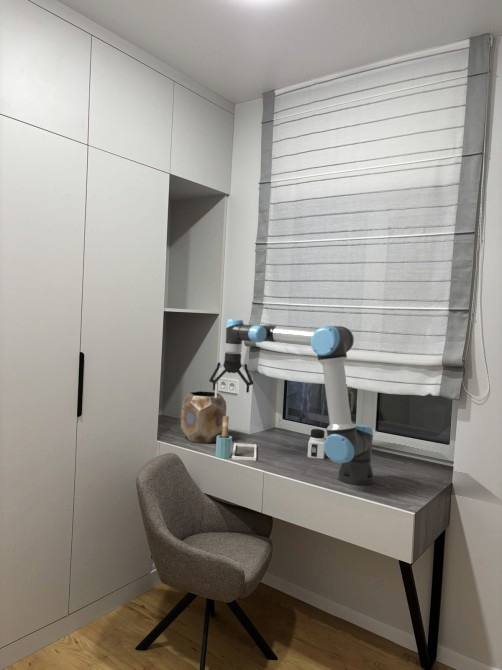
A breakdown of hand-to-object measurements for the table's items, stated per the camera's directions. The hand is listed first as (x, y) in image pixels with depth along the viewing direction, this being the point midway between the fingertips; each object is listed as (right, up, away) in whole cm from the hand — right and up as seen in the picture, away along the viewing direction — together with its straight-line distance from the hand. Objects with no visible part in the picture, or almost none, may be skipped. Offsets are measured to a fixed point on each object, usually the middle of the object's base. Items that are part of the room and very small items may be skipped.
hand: (230, 398), depth 239 cm
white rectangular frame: (+6, -27, +6) cm, 29 cm away
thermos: (+55, -29, +27) cm, 68 cm away
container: (+41, -29, +10) cm, 51 cm away
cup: (-3, -27, -2) cm, 27 cm away
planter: (-16, -25, +31) cm, 43 cm away
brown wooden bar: (-3, -26, -1) cm, 26 cm away
